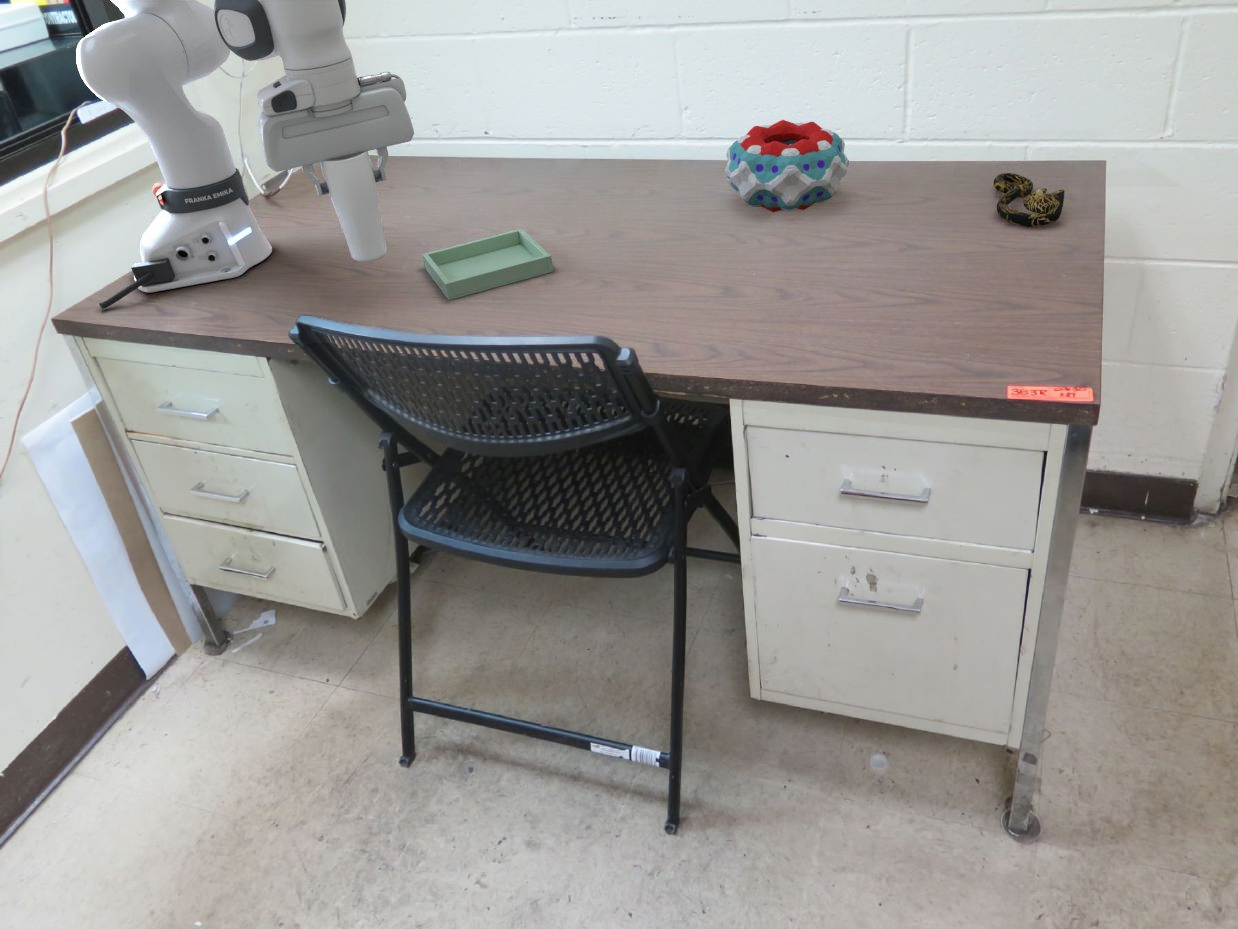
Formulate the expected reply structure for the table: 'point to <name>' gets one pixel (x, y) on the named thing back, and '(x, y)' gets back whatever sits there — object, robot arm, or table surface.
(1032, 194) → the rubber snake
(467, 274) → the tray
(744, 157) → the decorative model
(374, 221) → the drinking glass
